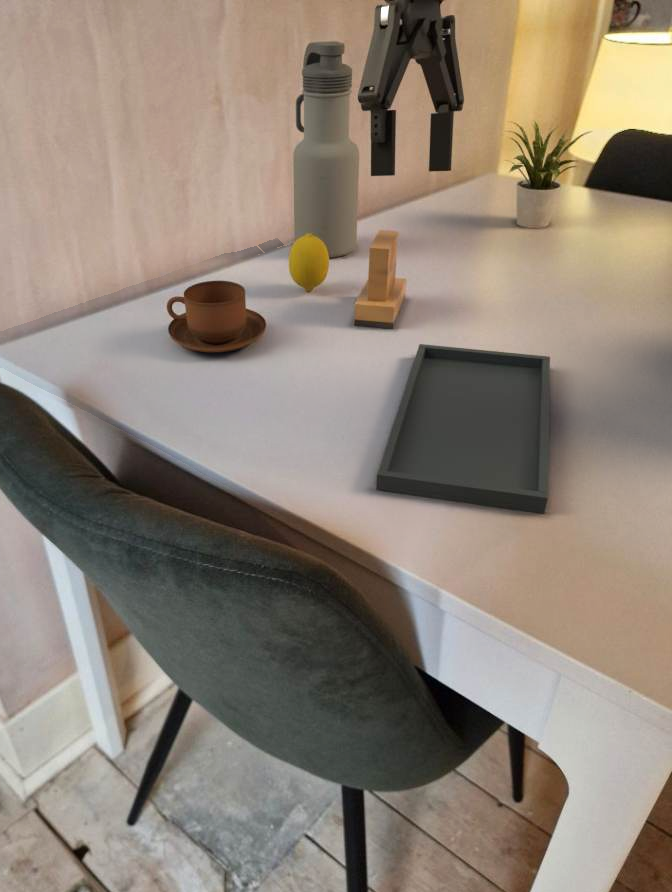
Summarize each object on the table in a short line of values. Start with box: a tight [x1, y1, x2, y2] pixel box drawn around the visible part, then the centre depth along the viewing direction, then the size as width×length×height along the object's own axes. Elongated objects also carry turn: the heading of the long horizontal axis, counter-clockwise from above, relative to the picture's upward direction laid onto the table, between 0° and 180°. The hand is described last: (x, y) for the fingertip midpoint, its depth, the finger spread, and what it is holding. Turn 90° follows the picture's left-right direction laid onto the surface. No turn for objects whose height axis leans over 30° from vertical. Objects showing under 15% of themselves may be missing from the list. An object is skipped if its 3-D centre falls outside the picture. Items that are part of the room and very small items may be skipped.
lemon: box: [288, 233, 330, 292], centre depth 104 cm, size 6×6×8 cm
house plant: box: [505, 118, 593, 229], centre depth 124 cm, size 14×14×16 cm
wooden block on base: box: [353, 229, 407, 330], centre depth 97 cm, size 10×5×10 cm, turn 164°
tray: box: [375, 343, 551, 514], centre depth 77 cm, size 28×15×2 cm, turn 164°
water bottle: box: [292, 40, 360, 259], centre depth 112 cm, size 10×10×28 cm
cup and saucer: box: [166, 280, 267, 353], centre depth 93 cm, size 12×12×6 cm
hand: (412, 173), depth 91 cm, fingers open, 13 cm apart
